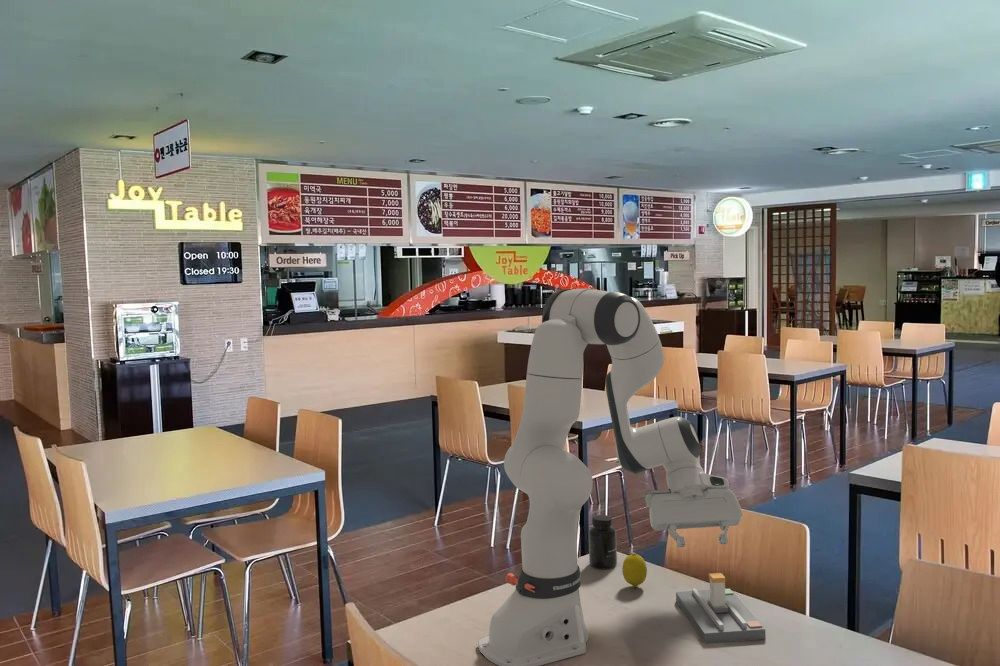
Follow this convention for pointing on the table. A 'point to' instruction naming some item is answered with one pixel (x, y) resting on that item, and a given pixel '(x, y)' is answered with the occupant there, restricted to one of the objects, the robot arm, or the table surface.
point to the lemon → (634, 569)
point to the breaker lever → (717, 593)
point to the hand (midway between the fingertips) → (702, 544)
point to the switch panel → (719, 618)
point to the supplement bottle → (602, 543)
